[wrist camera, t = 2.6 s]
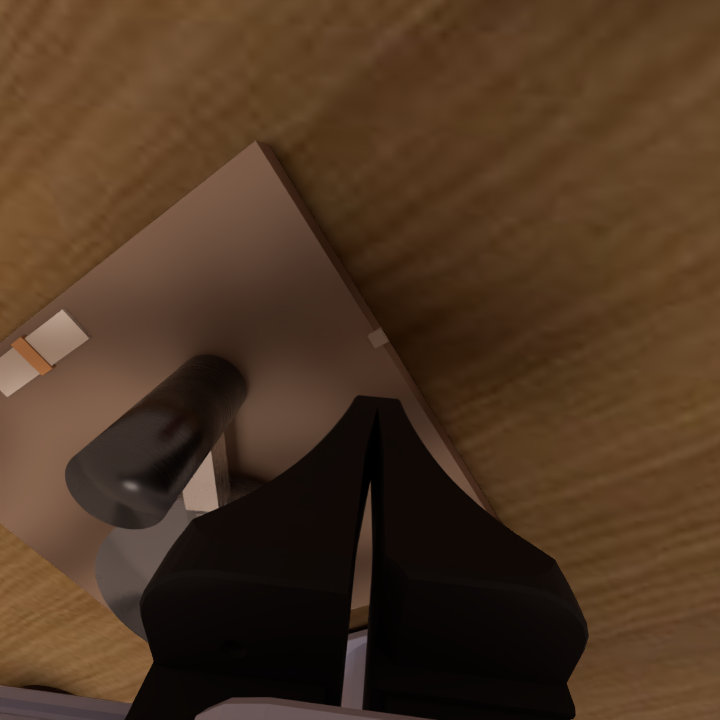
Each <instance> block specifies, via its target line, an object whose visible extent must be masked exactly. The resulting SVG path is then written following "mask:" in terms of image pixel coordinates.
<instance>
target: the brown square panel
mask: <svg viewBox="0 0 720 720" xmlns="http://www.w3.org/2000/svg"><path fill="white" fill-rule="evenodd" d="M198 355H214V356H218V357H221V358H223V359H225V360H227V361H229V362H230V363H231V364H233V365H234V366H235V367H236V368H237V369H238V370H239V372H240V373H241V374H242V376H243V378H244V380H245V383H246V388H247V395H246V399H245V402H244V403H243V405H242V406H241V408H240V409H239V411H238V412H237V414H236V415H235V416H234V418H233V419H232V421H231V422H230V424H229V425H228V427H227V428H226V429H225V431H224V438H225V447H226V456H227V465H228V474H229V476H232V477H238V478H243V479H246V480H250V481H254V482H257V483H260V484H263V485H265V484H266V483H268V482H270V481H271V480H273V479H274V478H276V477H277V476H279V475H280V474H282V473H283V472H284V471H286V470H287V469H288V468H290V467H291V466H293V465H294V464H295V463H297V462H298V461H299V460H300V459H301V458H303V457H304V456H305V455H306V454H307V453H308V452H310V451H311V450H312V449H313V448H314V447H315V446H316V445H317V444H318V443H319V442H320V441H321V440H322V439H323V438H324V437H325V436H326V435H327V434H328V433H329V432H330V431H331V429H332V428H333V427H334V426H335V425H336V424H337V422H338V421H339V420H340V419H341V417H342V416H343V415H344V413H345V412H346V411H347V409H348V408H349V406H350V405H351V403H352V402H353V400H354V398H355V397H356V396H358V395H363V396H373V397H384V398H394V399H399V400H400V402H401V403H402V406H403V408H404V410H405V412H406V414H407V416H408V418H409V420H410V422H411V424H412V426H413V427H414V429H415V431H416V432H417V434H418V435H419V437H420V439H421V440H422V442H423V443H424V445H425V446H426V448H427V449H428V450H429V452H430V453H431V455H432V456H433V457H434V459H435V460H436V461H437V462H438V464H439V465H440V466H441V467H442V469H443V470H444V471H445V472H446V473H447V474H448V476H449V477H450V478H451V479H452V480H453V481H454V482H455V483H456V484H457V485H458V486H459V487H460V488H461V489H462V490H463V491H464V492H465V493H466V494H467V495H469V496H470V497H471V498H472V499H473V500H474V501H475V502H476V503H477V504H478V505H480V506H481V507H482V508H483V509H484V510H486V511H487V512H488V513H489V514H490V515H492V516H493V517H494V518H496V519H497V520H498V521H499V519H498V517H497V516H496V514H495V512H494V511H493V509H492V508H491V506H490V504H489V503H488V501H487V499H486V498H485V496H484V495H483V493H482V491H481V490H480V488H479V486H478V485H477V483H476V482H475V480H474V478H473V477H472V475H471V473H470V472H469V470H468V468H467V467H466V465H465V464H464V462H463V460H462V459H461V457H460V455H459V454H458V452H457V451H456V449H455V447H454V446H453V444H452V442H451V441H450V439H449V438H448V436H447V434H446V433H445V431H444V429H443V428H442V426H441V425H440V423H439V421H438V420H437V418H436V416H435V415H434V413H433V411H432V410H431V408H430V407H429V405H428V403H427V402H426V400H425V398H424V397H423V395H422V394H421V392H420V390H419V389H418V387H417V385H416V384H415V382H414V381H413V379H412V377H411V376H410V374H409V372H408V371H407V369H406V368H405V366H404V364H403V363H402V361H401V359H400V358H399V356H398V354H397V353H396V351H395V350H394V348H393V346H392V345H391V343H390V341H389V340H388V338H387V336H386V335H385V333H384V332H383V330H382V328H381V327H380V325H379V324H378V322H377V320H376V319H375V317H374V315H373V314H372V312H371V310H370V309H369V307H368V306H367V304H366V302H365V301H364V299H363V297H362V296H361V294H360V293H359V291H358V289H357V288H356V286H355V284H354V283H353V281H352V280H351V278H350V276H349V275H348V273H347V271H346V270H345V268H344V267H343V265H342V263H341V262H340V260H339V258H338V257H337V255H336V253H335V252H334V250H333V249H332V247H331V245H330V244H329V242H328V240H327V239H326V237H325V236H324V234H323V232H322V231H321V229H320V227H319V226H318V224H317V223H316V221H315V219H314V218H313V216H312V214H311V213H310V211H309V210H308V208H307V206H306V205H305V203H304V201H303V200H302V198H301V196H300V195H299V193H298V192H297V190H296V188H295V187H294V185H293V183H292V182H291V180H290V179H289V177H288V175H287V174H286V172H285V170H284V169H283V167H282V166H281V164H280V162H279V161H278V159H277V157H276V156H275V154H274V153H273V151H272V149H271V148H270V146H269V145H267V144H264V143H261V142H258V141H254V142H253V143H252V144H250V145H249V146H248V147H247V148H245V149H244V150H243V151H242V152H240V153H239V154H238V155H237V156H235V157H234V158H233V159H232V160H230V161H229V162H228V163H226V164H225V165H224V166H223V167H221V168H220V169H219V170H218V171H216V172H215V173H214V174H213V175H211V176H210V177H209V178H207V179H206V180H205V181H204V182H202V183H201V184H200V185H199V186H197V187H196V188H195V189H194V190H192V191H191V192H190V193H189V194H187V195H186V196H185V197H183V198H182V199H181V200H180V201H178V202H177V203H176V204H175V205H173V206H172V207H171V208H170V209H168V210H167V211H166V212H164V213H163V214H162V215H161V216H159V217H158V218H157V219H156V220H154V221H153V222H152V223H151V224H149V225H148V226H147V227H146V228H144V229H143V230H142V231H140V232H139V233H138V234H137V235H135V236H134V237H133V238H132V239H130V240H129V241H128V242H127V243H125V244H124V245H123V246H121V247H120V248H119V249H118V250H116V251H115V252H114V253H113V254H111V255H110V256H109V257H108V258H106V259H105V260H104V261H103V262H101V263H100V264H99V265H97V266H96V267H95V268H94V269H92V270H91V271H90V272H89V273H87V274H86V275H85V276H84V277H82V278H81V279H80V280H78V281H77V282H76V283H75V284H73V285H72V286H71V287H70V288H68V289H67V290H66V291H65V292H63V293H62V294H61V295H60V296H58V297H57V298H56V299H54V300H53V301H52V302H51V303H49V304H48V305H47V306H46V307H44V308H43V309H42V310H41V311H39V312H38V313H37V314H35V315H34V316H33V317H32V318H30V319H29V320H28V321H27V322H25V323H24V324H23V325H22V326H20V327H19V328H18V329H17V330H15V331H14V332H13V333H11V334H10V335H9V336H8V337H6V338H5V339H4V340H3V341H1V342H0V523H1V524H2V525H3V526H4V527H6V528H7V529H8V530H9V531H11V532H12V533H13V534H14V535H16V536H17V537H18V538H20V539H21V540H22V541H23V542H25V543H26V544H27V545H28V546H30V547H31V548H32V549H33V550H35V551H36V552H37V553H38V554H40V555H41V556H42V557H43V558H45V559H46V560H47V561H48V562H50V563H51V564H52V565H54V566H55V567H56V568H57V569H59V570H60V571H61V572H62V573H64V574H65V575H66V576H67V577H69V578H70V579H71V580H72V581H74V582H75V583H76V584H77V585H79V586H80V587H81V588H83V589H84V590H85V591H86V592H88V593H89V594H90V595H91V596H93V597H94V598H95V599H96V600H98V601H99V602H100V603H101V604H103V605H104V606H105V607H106V608H108V609H109V610H110V611H112V610H111V609H110V608H109V606H108V605H107V603H106V602H105V600H104V598H103V597H102V594H101V592H100V590H99V588H98V584H97V581H96V577H95V561H96V555H97V553H98V550H99V548H100V546H101V544H102V543H103V541H104V540H105V538H106V537H107V536H108V534H109V533H110V532H111V531H112V530H113V528H114V527H115V526H112V525H109V524H107V523H105V522H102V521H100V520H99V519H97V518H95V517H93V516H92V515H90V514H89V513H88V512H86V511H85V510H84V509H83V508H82V507H81V506H80V505H79V504H78V503H77V502H76V501H75V499H74V498H73V497H72V495H71V494H70V492H69V490H68V487H67V485H66V481H65V469H66V466H67V464H68V462H69V461H70V459H71V458H72V457H73V456H75V455H76V454H77V453H78V452H79V451H81V450H82V449H83V448H84V447H85V446H87V445H88V444H89V443H90V442H91V441H92V440H94V439H95V438H96V437H97V436H98V435H100V434H101V433H102V432H103V431H104V430H106V429H107V428H108V427H109V426H110V425H111V424H113V423H114V422H115V421H116V420H117V419H119V418H120V417H121V416H122V415H123V414H125V413H126V412H127V411H128V410H129V409H130V408H132V407H133V406H134V405H135V404H136V403H138V402H139V401H140V400H141V399H142V398H144V397H145V396H146V395H147V394H148V393H150V392H151V391H152V390H153V389H154V388H155V387H157V386H158V385H159V384H160V383H161V382H163V381H164V380H165V379H166V378H167V377H169V376H170V375H171V374H172V373H173V372H174V371H176V370H177V369H178V368H179V367H180V366H182V365H183V364H184V363H185V362H186V361H188V360H189V359H190V358H192V357H195V356H198ZM499 522H500V521H499ZM371 571H372V521H371V481H370V486H369V491H368V496H367V501H366V506H365V512H364V517H363V522H362V527H361V533H360V538H359V543H358V549H357V555H356V562H355V572H354V582H353V592H352V602H351V610H353V609H356V608H360V607H363V606H366V605H369V602H370V586H371ZM112 612H113V611H112Z"/></svg>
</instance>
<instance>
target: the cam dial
mask: <svg viewBox="0 0 720 720" xmlns="http://www.w3.org/2000/svg"><path fill="white" fill-rule="evenodd" d="M246 395H247V388H246V383H245V380H244V378H243V376H242V374H241V373H240V372H239V370H238V369H237V368H236V367H235V366H234V365H233V364H231V363H230V362H229V361H227V360H225V359H223V358H221V357H218V356H214V355H198V356H195V357H192V358H190V359H189V360H188V361H186V362H185V363H184V364H183V365H182V366H180V367H179V368H178V369H177V370H176V371H174V372H173V373H172V374H171V375H170V376H169V377H167V378H166V379H165V380H164V381H163V382H161V383H160V384H159V385H158V386H157V387H155V388H154V389H153V390H152V391H151V392H150V393H148V394H147V395H146V396H145V397H144V398H142V399H141V400H140V401H139V402H138V403H136V404H135V405H134V406H133V407H132V408H130V409H129V410H128V411H127V412H126V413H125V414H123V415H122V416H121V417H120V418H119V419H117V420H116V421H115V422H114V423H113V424H111V425H110V426H109V427H108V428H107V429H106V430H104V431H103V432H102V433H101V434H100V435H98V436H97V437H96V438H95V439H94V440H92V441H91V442H90V443H89V444H88V445H87V446H85V447H84V448H83V449H82V450H81V451H79V452H78V453H77V454H76V455H75V456H73V457H72V458H71V459H70V461H69V462H68V464H67V466H66V469H65V481H66V485H67V487H68V490H69V492H70V494H71V495H72V497H73V498H74V499H75V501H76V502H77V503H78V504H79V505H80V506H81V507H82V508H83V509H84V510H85V511H86V512H88V513H89V514H90V515H92V516H93V517H95V518H97V519H99V520H100V521H102V522H105V523H107V524H109V525H112V526H115V527H114V528H113V530H112V531H111V532H110V533H109V534H108V536H107V537H106V538H105V540H104V541H103V543H102V544H101V546H100V548H99V550H98V553H97V555H96V561H95V577H96V581H97V584H98V588H99V590H100V592H101V594H102V597H103V598H104V600H105V602H106V603H107V605H108V606H109V608H110V609H111V610H112V611H113V613H114V614H115V615H116V616H117V617H118V618H119V619H120V620H121V621H122V622H123V623H124V624H125V625H126V626H127V627H128V628H129V629H130V630H132V631H133V632H134V633H135V634H137V635H138V636H140V637H141V638H143V639H144V640H145V641H147V642H148V640H147V637H146V633H145V630H144V626H143V623H142V620H141V616H140V606H139V602H140V600H141V597H142V594H143V592H144V590H145V588H146V586H147V585H148V583H149V581H150V580H151V578H152V577H153V575H154V573H155V572H156V570H157V569H158V567H159V565H160V564H161V562H162V560H163V559H164V557H165V556H166V554H167V552H168V551H169V549H170V548H171V547H172V545H173V544H174V543H175V541H176V540H177V538H178V537H179V536H180V535H181V534H182V532H183V531H184V530H185V529H186V527H187V526H188V524H189V523H190V522H191V520H192V519H194V518H196V517H199V516H201V515H203V514H206V513H208V512H210V511H213V510H215V509H217V508H219V507H222V506H224V505H226V504H228V503H231V502H233V501H235V500H237V499H239V498H241V497H243V496H245V495H247V494H249V493H250V492H252V491H254V490H256V489H258V488H260V487H261V486H263V484H260V483H257V482H254V481H250V480H246V479H243V478H238V477H232V476H229V474H228V465H227V456H226V447H225V438H224V431H225V429H226V428H227V427H228V425H229V424H230V422H231V421H232V419H233V418H234V416H235V415H236V414H237V412H238V411H239V409H240V408H241V406H242V405H243V403H244V402H245V399H246Z"/></svg>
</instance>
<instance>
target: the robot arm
mask: <svg viewBox="0 0 720 720" xmlns="http://www.w3.org/2000/svg"><path fill="white" fill-rule="evenodd" d="M370 481H371V521H372V571H371V586H370V602H369V617H368V629H365V630H362V631H358V632H355V633H351V634H348V633H349V622H350V612H351V602H352V592H353V582H354V572H355V562H356V555H357V549H358V543H359V538H360V533H361V527H362V522H363V517H364V512H365V506H366V501H367V496H368V491H369V486H370ZM139 606H140V616H141V620H142V623H143V626H144V630H145V633H146V637H147V640H148V643H149V647H150V650H151V653H152V657H153V660H154V662H153V664H152V666H151V668H150V670H149V672H148V674H147V676H146V678H145V680H144V682H143V684H142V686H141V688H140V690H139V692H138V694H137V696H136V698H135V700H134V702H133V704H132V703H124V702H117V701H110V700H103V699H96V698H89V697H81V696H74V695H67V694H60V693H53V692H45V691H38V690H31V689H24V688H17V687H9V686H2V685H0V720H571V719H574V717H575V715H576V714H575V706H574V703H573V700H572V698H571V695H570V692H569V689H568V686H567V681H568V679H569V678H570V676H571V674H572V672H573V670H574V668H575V666H576V665H577V663H578V661H579V659H580V657H581V655H582V654H583V652H584V650H585V647H586V644H587V640H588V637H589V635H588V629H587V623H586V620H585V618H584V616H583V613H582V611H581V609H580V607H579V604H578V602H577V600H576V598H575V596H574V594H573V592H572V590H571V588H570V586H569V584H568V582H567V580H566V579H565V577H564V575H563V573H562V572H561V570H560V568H559V566H558V564H557V562H556V561H555V559H553V558H552V557H550V556H549V555H547V554H546V553H544V552H543V551H541V550H540V549H538V548H537V547H535V546H534V545H532V544H531V543H529V542H528V541H526V540H524V539H523V538H521V537H520V536H518V535H517V534H515V533H514V532H513V531H511V530H510V529H509V528H507V527H506V526H505V525H503V524H502V523H501V522H499V521H498V520H497V519H496V518H494V517H493V516H492V515H490V514H489V513H488V512H487V511H486V510H484V509H483V508H482V507H481V506H480V505H478V504H477V503H476V502H475V501H474V500H473V499H472V498H471V497H470V496H469V495H467V494H466V493H465V492H464V491H463V490H462V489H461V488H460V487H459V486H458V485H457V484H456V483H455V482H454V481H453V480H452V479H451V478H450V477H449V476H448V474H447V473H446V472H445V471H444V470H443V469H442V467H441V466H440V465H439V464H438V462H437V461H436V460H435V459H434V457H433V456H432V455H431V453H430V452H429V450H428V449H427V448H426V446H425V445H424V443H423V442H422V440H421V439H420V437H419V435H418V434H417V432H416V431H415V429H414V427H413V426H412V424H411V422H410V420H409V418H408V416H407V414H406V412H405V410H404V408H403V406H402V403H401V402H400V400H399V399H394V398H384V397H373V396H363V395H358V396H356V397H355V398H354V400H353V402H352V403H351V405H350V406H349V408H348V409H347V411H346V412H345V413H344V415H343V416H342V417H341V419H340V420H339V421H338V422H337V424H336V425H335V426H334V427H333V428H332V429H331V431H330V432H329V433H328V434H327V435H326V436H325V437H324V438H323V439H322V440H321V441H320V442H319V443H318V444H317V445H316V446H315V447H314V448H313V449H312V450H311V451H310V452H308V453H307V454H306V455H305V456H304V457H303V458H301V459H300V460H299V461H298V462H297V463H295V464H294V465H293V466H291V467H290V468H288V469H287V470H286V471H284V472H283V473H282V474H280V475H279V476H277V477H276V478H274V479H273V480H271V481H270V482H268V483H266V484H265V485H263V486H261V487H260V488H258V489H256V490H254V491H252V492H250V493H249V494H247V495H245V496H243V497H241V498H239V499H237V500H235V501H233V502H231V503H228V504H226V505H224V506H222V507H219V508H217V509H215V510H213V511H210V512H208V513H206V514H203V515H201V516H199V517H196V518H194V519H192V520H191V522H190V523H189V524H188V526H187V527H186V529H185V530H184V531H183V532H182V534H181V535H180V536H179V537H178V538H177V540H176V541H175V543H174V544H173V545H172V547H171V548H170V549H169V551H168V552H167V554H166V556H165V557H164V559H163V560H162V562H161V564H160V565H159V567H158V569H157V570H156V572H155V573H154V575H153V577H152V578H151V580H150V581H149V583H148V585H147V586H146V588H145V590H144V592H143V594H142V597H141V600H140V602H139Z"/></svg>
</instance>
